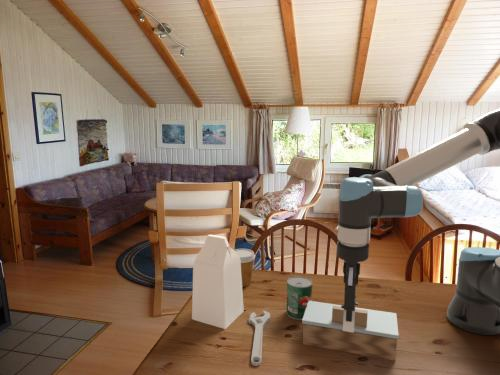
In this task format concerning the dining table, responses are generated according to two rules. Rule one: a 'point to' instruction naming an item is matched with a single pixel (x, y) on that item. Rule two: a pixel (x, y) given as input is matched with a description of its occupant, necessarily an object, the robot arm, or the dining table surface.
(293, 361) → the dining table surface
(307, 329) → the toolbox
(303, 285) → the canned tomato
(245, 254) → the disposable coffee cup
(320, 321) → the lid
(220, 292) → the milk
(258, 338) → the adjustable wrench
